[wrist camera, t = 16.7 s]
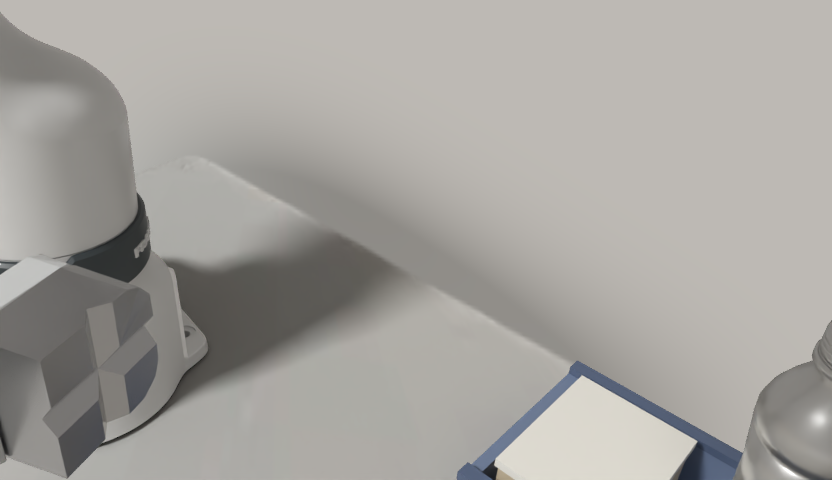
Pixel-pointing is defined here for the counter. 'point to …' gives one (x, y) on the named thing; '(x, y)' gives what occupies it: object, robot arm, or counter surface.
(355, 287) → the counter surface
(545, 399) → the tote
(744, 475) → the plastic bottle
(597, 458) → the carton
